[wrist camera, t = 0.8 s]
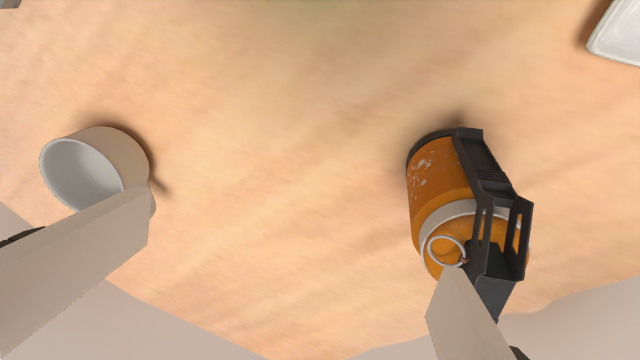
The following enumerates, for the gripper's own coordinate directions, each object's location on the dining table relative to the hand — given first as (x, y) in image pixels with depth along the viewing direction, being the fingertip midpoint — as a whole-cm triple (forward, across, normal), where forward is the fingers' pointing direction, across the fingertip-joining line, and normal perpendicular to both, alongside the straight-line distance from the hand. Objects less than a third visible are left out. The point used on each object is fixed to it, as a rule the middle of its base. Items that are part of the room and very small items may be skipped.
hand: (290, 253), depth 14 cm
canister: (+26, +13, +2) cm, 29 cm away
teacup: (+30, -26, -10) cm, 41 cm away
